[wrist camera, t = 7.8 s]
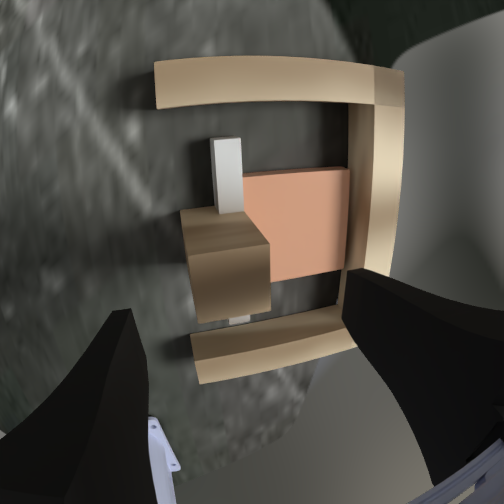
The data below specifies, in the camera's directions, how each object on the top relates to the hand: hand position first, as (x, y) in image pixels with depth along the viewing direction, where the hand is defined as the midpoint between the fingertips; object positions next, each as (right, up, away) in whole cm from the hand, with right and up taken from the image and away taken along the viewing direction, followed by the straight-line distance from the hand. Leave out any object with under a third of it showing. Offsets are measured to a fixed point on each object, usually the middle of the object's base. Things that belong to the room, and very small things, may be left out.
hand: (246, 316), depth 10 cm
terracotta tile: (+2, +4, +8) cm, 9 cm away
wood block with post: (-1, +3, +7) cm, 8 cm away
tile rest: (+2, +4, +7) cm, 9 cm away
